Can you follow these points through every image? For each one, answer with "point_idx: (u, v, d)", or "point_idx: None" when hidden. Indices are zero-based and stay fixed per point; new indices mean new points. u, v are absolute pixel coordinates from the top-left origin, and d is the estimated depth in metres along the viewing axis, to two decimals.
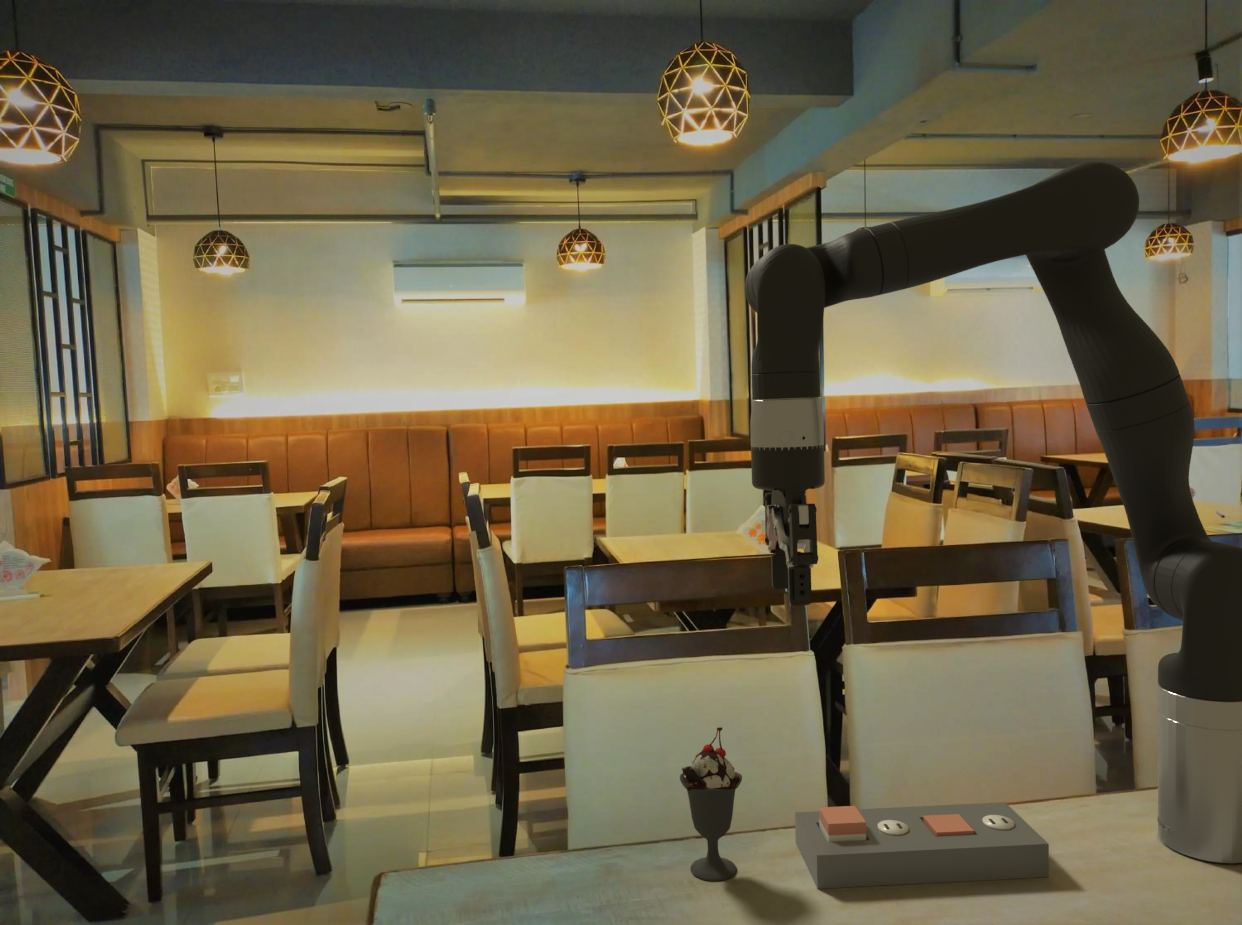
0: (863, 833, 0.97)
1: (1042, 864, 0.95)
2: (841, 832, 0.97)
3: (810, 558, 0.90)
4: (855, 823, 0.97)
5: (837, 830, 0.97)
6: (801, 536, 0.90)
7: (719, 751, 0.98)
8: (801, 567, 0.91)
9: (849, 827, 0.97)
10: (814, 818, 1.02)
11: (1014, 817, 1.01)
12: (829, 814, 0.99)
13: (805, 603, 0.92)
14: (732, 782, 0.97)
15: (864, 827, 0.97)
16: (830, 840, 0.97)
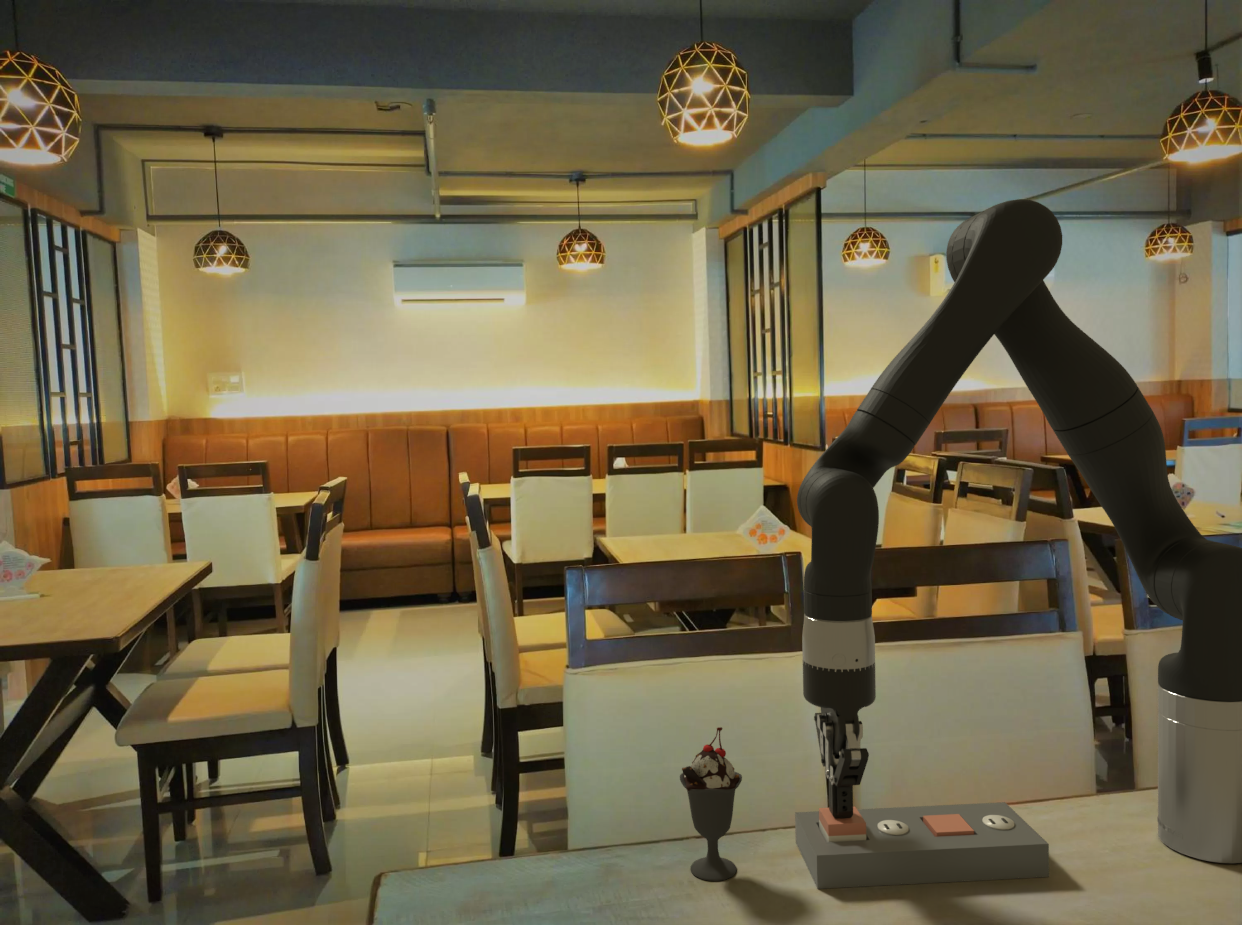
0: (863, 834, 0.97)
1: (1042, 864, 0.95)
2: (841, 833, 0.97)
3: (853, 784, 0.95)
4: (855, 824, 0.97)
5: (837, 831, 0.97)
6: (848, 773, 0.94)
7: (719, 751, 0.98)
8: (843, 785, 0.97)
9: (849, 828, 0.97)
10: (814, 818, 1.02)
11: (1014, 817, 1.01)
12: (829, 815, 0.99)
13: (847, 817, 0.98)
14: (732, 782, 0.97)
15: (864, 828, 0.97)
16: (830, 841, 0.97)
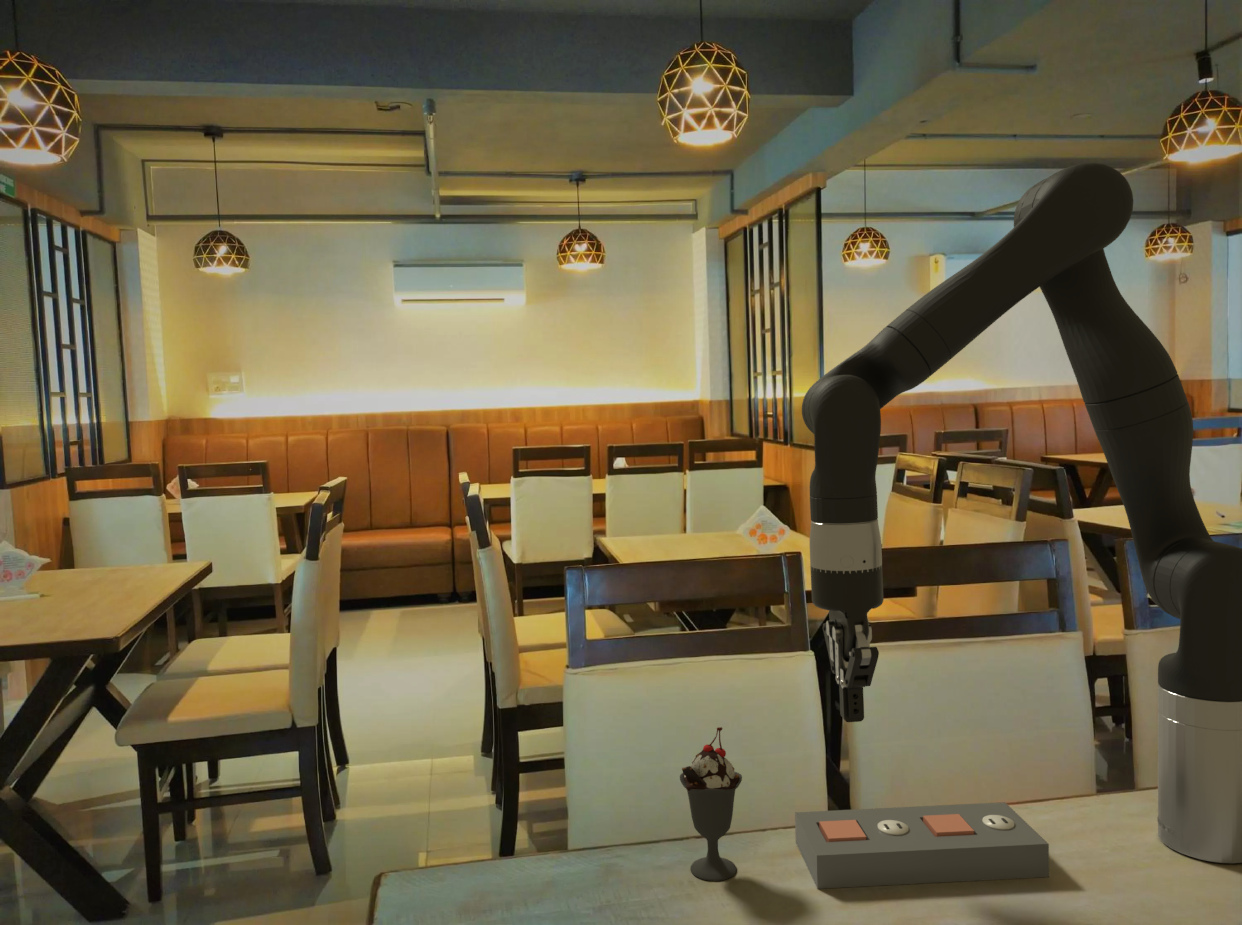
0: None
1: (1042, 864, 0.95)
2: None
3: (863, 685, 0.97)
4: (856, 838, 0.97)
5: None
6: (859, 673, 0.95)
7: (719, 751, 0.98)
8: (854, 688, 0.98)
9: None
10: (814, 818, 1.02)
11: (1014, 817, 1.01)
12: (829, 828, 0.99)
13: (858, 720, 0.99)
14: (732, 782, 0.97)
15: None
16: None
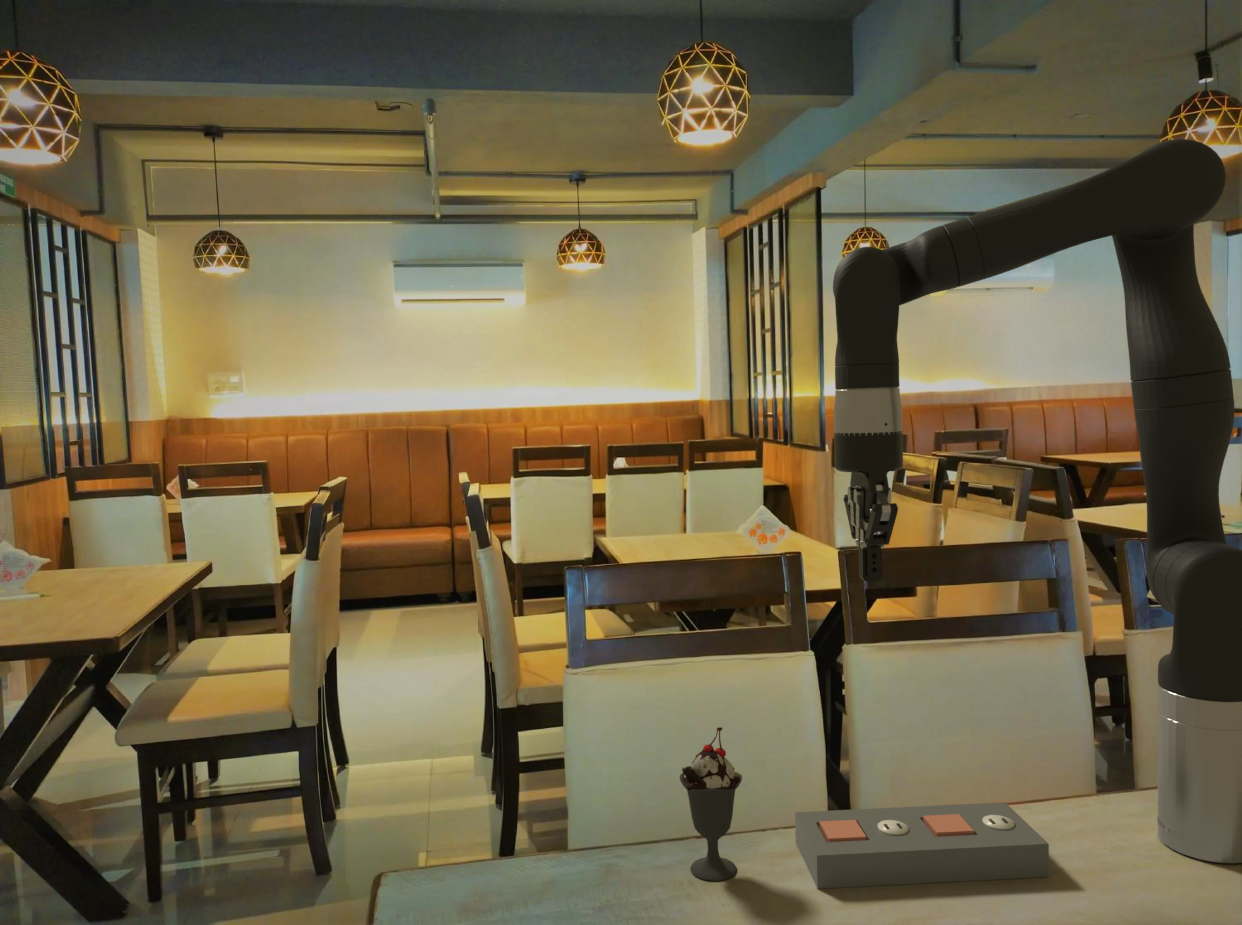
0: None
1: (1042, 864, 0.95)
2: None
3: (882, 542, 1.02)
4: (856, 838, 0.97)
5: None
6: (879, 529, 1.01)
7: (719, 751, 0.98)
8: (873, 547, 1.04)
9: None
10: (814, 818, 1.02)
11: (1014, 817, 1.01)
12: (829, 828, 0.99)
13: (876, 579, 1.05)
14: (732, 782, 0.97)
15: None
16: None
